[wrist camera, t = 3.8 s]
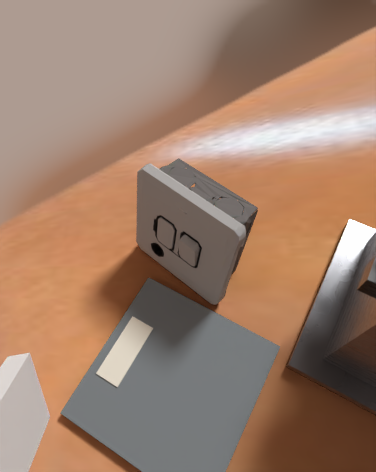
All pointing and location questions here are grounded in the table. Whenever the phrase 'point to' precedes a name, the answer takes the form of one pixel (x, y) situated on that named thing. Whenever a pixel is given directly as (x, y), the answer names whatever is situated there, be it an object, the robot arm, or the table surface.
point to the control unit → (344, 322)
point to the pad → (172, 384)
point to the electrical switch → (192, 226)
